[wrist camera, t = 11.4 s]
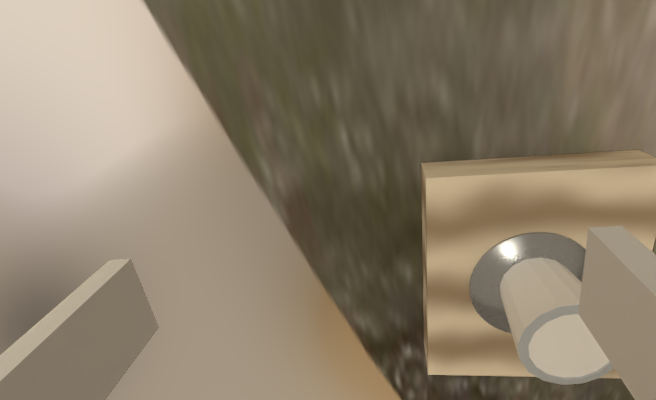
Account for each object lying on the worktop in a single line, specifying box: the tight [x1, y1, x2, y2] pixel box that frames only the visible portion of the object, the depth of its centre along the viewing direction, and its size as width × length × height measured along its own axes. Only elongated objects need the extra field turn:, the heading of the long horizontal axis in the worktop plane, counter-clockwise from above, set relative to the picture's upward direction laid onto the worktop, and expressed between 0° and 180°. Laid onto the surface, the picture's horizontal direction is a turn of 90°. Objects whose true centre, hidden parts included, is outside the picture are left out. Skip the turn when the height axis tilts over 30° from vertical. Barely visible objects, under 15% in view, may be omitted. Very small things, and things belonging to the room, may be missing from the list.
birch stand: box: [421, 150, 656, 378], centre depth 35 cm, size 20×17×4 cm
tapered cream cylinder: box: [500, 257, 614, 385], centre depth 30 cm, size 7×7×7 cm
